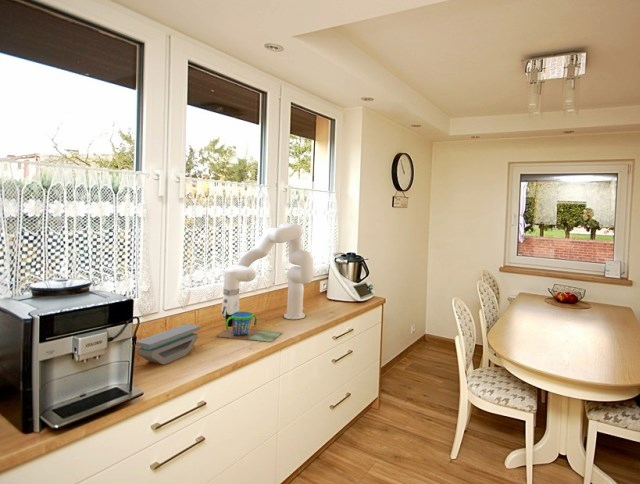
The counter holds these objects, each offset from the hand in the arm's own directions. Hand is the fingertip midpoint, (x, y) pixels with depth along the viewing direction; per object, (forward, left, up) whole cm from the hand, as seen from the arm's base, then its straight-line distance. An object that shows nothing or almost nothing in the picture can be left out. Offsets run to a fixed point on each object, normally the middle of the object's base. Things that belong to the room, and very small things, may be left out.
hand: (229, 326), depth 190 cm
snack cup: (0, +6, -4) cm, 7 cm away
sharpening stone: (+34, -8, -4) cm, 35 cm away
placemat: (0, +11, -4) cm, 12 cm away
